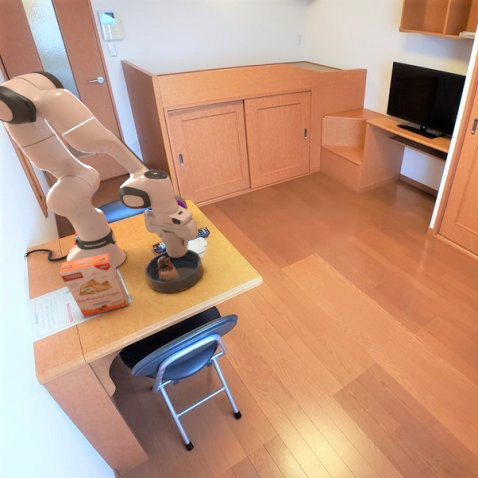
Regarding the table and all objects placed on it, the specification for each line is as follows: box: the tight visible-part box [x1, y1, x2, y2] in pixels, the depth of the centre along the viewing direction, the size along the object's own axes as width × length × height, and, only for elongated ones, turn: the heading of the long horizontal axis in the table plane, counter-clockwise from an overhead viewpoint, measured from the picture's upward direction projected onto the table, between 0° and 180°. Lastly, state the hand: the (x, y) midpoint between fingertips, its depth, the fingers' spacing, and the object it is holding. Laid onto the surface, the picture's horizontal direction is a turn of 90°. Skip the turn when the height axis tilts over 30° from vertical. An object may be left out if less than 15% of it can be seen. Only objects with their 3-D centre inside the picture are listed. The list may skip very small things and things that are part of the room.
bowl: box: [144, 249, 204, 294], centre depth 138 cm, size 20×20×6 cm
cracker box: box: [59, 253, 129, 318], centre depth 120 cm, size 14×6×21 cm, turn 114°
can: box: [162, 230, 189, 258], centre depth 135 cm, size 8×8×12 cm
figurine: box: [157, 256, 180, 282], centre depth 133 cm, size 7×7×12 cm
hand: (175, 243), depth 136 cm, fingers closed on can, 7 cm apart
